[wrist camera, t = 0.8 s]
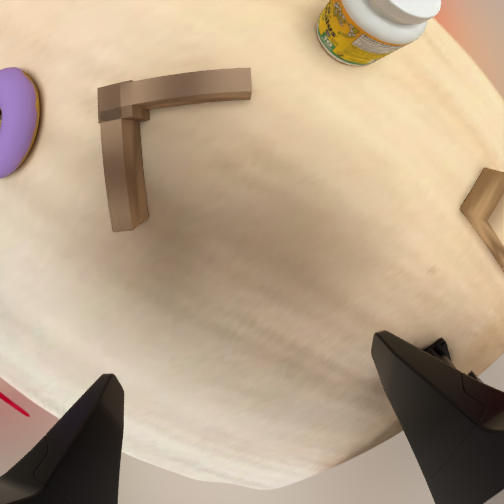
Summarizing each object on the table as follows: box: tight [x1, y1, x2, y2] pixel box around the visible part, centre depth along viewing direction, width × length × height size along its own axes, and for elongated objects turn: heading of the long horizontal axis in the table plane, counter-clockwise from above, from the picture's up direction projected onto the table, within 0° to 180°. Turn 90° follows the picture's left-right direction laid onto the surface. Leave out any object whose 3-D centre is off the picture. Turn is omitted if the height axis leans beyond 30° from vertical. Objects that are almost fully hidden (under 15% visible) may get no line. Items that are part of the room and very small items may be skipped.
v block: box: [98, 68, 252, 232], centre depth 18 cm, size 8×13×4 cm, turn 138°
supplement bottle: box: [316, 0, 441, 66], centre depth 13 cm, size 5×5×10 cm
